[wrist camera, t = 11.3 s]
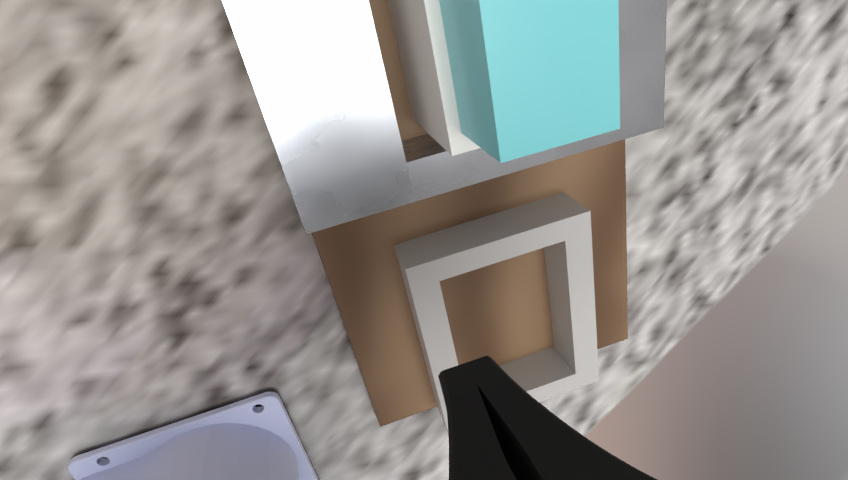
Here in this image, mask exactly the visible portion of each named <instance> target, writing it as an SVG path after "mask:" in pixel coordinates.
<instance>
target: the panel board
mask: <svg viewBox="0 0 848 480" xmlns="http://www.w3.org/2000/svg"><path fill="white" fill-rule="evenodd" d="M369 4H370V9H371V13H372V17H373V21H374V26H375V30H376V34H377V39H378V43H379V47H380V51H381V56H382V60H383V64H384V69H385V73H386V77H387V81H388V86H389V90H390V94H391V99H392V103H393V107H394V111H395V116H396V120H397V124H398V129H399V133H400V137H401V141H404V140H407V139H411V138H414V137H418V136H421V135H425V134H428V133H427V132H426V131H425V130H424V129H423V128H422V127H421V126H420V125H419V124H417V123H416V122H415V121H414V120H413V117H412V112H411V108H410V103H409V98H408V94H407V89H406V84H405V79H404V75H403V70H402V65H401V61H400V56H399V51H398V46H397V42H396V37H395V32H394V28H393V23H392V18H391V14H390V9H389V4H388V0H369ZM563 192H564V193H566V194H567V195H568V196H570V197H571V198H573V199H574V200H576V201H577V202H578V203H580V204H581V205H583V206H584V207H586V208H587V209H589V210H590V211H591V231H592V251H593V271H594V291H595V310H596V330H597V349H599V348H602V347H605V346H608V345H611V344H614V343H616V342H619V341H622V340H625V339H628V328H627V251H626V174H625V139H623V140H620V141H617V142H613V143H610V144H607V145H603V146H600V147H597V148H593V149H590V150H587V151H583V152H580V153H577V154H573V155H570V156H567V157H563V158H560V159H557V160H553V161H550V162H546V163H543V164H540V165H536V166H533V167H530V168H526V169H523V170H520V171H516V172H513V173H510V174H506V175H503V176H500V177H496V178H493V179H490V180H486V181H483V182H480V183H476V184H473V185H470V186H466V187H463V188H460V189H456V190H453V191H449V192H446V193H443V194H439V195H436V196H433V197H429V198H426V199H423V200H419V201H416V202H413V203H409V204H406V205H403V206H399V207H396V208H393V209H389V210H386V211H383V212H379V213H376V214H373V215H369V216H366V217H363V218H359V219H356V220H352V221H349V222H346V223H342V224H339V225H336V226H332V227H329V228H326V229H322V230H319V231H316V232H312V235H313V238H314V240H315V243H316V246H317V249H318V252H319V255H320V257H321V260H322V263H323V266H324V269H325V271H326V274H327V277H328V280H329V283H330V286H331V288H332V291H333V294H334V297H335V300H336V303H337V305H338V308H339V311H340V314H341V317H342V320H343V322H344V325H345V328H346V331H347V334H348V337H349V339H350V342H351V345H352V348H353V351H354V354H355V356H356V359H357V362H358V365H359V368H360V370H361V373H362V376H363V379H364V382H365V385H366V387H367V390H368V393H369V396H370V399H371V402H372V404H373V407H374V410H375V413H376V416H377V419H378V421H379V424H380V426H383V425H386V424H389V423H392V422H394V421H397V420H400V419H403V418H406V417H409V416H411V415H414V414H417V413H420V412H423V411H425V410H428V409H431V408H434V407H437V404H436V400H435V397H434V393H433V389H432V385H431V382H430V378H429V374H428V370H427V367H426V363H425V359H424V356H423V352H422V348H421V344H420V341H419V337H418V333H417V329H416V326H415V322H414V318H413V315H412V311H411V307H410V303H409V300H408V296H407V292H406V288H405V285H404V281H403V277H402V273H401V270H400V266H399V262H398V259H397V255H396V251H395V247H394V245H395V244H398V243H401V242H405V241H408V240H411V239H414V238H418V237H421V236H424V235H427V234H430V233H434V232H437V231H440V230H443V229H447V228H450V227H453V226H456V225H460V224H463V223H466V222H469V221H473V220H476V219H479V218H482V217H486V216H489V215H492V214H495V213H498V212H502V211H505V210H508V209H511V208H515V207H518V206H521V205H524V204H528V203H531V202H534V201H537V200H541V199H544V198H547V197H550V196H554V195H557V194H560V193H563ZM439 282H440V286H441V291H442V295H443V300H444V304H445V308H446V313H447V317H448V322H449V326H450V330H451V335H452V339H453V344H454V348H455V352H456V357H457V361H458V365H461V364H463V363H466V362H469V361H472V360H475V359H478V358H481V357H484V356H489V357H491V358H492V359H493V360H494V361H495V362H496V363H497V364H498V365H502V364H505V363H508V362H510V361H513V360H516V359H519V358H522V357H525V356H528V355H530V354H533V353H536V352H539V351H542V350H545V349H548V348H550V347H553V346H554V339H553V329H552V320H551V310H550V301H549V291H548V281H547V272H546V262H545V252H544V248H541V249H538V250H535V251H532V252H528V253H525V254H522V255H519V256H516V257H513V258H510V259H507V260H504V261H501V262H497V263H494V264H491V265H488V266H485V267H482V268H479V269H476V270H473V271H470V272H466V273H463V274H460V275H457V276H454V277H451V278H448V279H445V280H442V281H439Z"/></svg>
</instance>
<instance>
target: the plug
mask: <svg viewBox="0 0 848 480" xmlns="http://www.w3.org/2000/svg"><path fill="white" fill-rule="evenodd" d="M388 4H389V9H390V14H391V18H392V23H393V28H394V32H395V37H396V42H397V46H398V51H399V56H400V61H401V65H402V70H403V75H404V79H405V84H406V89H407V94H408V98H409V103H410V108H411V112H412V117H413V120H414V121H415V122H416V123H417V124H419V125H420V126H421V127H422V128H423V129H424V130H425V131H426V132H427V133H428V134H429V135H430V136H431V137H432V138H433V139H435V140H436V141H437V142H438V143H439V144H440V145H441V146H442V147H443V148H444V149H445V150H446V151H447V152H448V153H449V154H450V155H452V156H454V155H457V154H461V153H465V152H468V151H472V150H475V149H479V148H482V149H483V150H484V151H486V152H487V153H488V154H489V155H491V156H492V157H493V158H495V159H496V160H497V161H499V162H500V163H503V162H507V161H510V160H514V159H517V158H520V157H524V156H527V155H531V154H534V153H538V152H541V151H545V150H548V149H551V148H555V147H558V146H562V145H565V144H569V143H572V142H576V141H579V140H582V139H586V138H589V137H593V136H596V135H600V134H603V133H606V132H610V131H613V130H617V129H620V80H619V5H618V0H388Z"/></svg>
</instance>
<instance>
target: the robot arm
mask: <svg viewBox="0 0 848 480" xmlns="http://www.w3.org/2000/svg"><path fill="white" fill-rule="evenodd" d="M438 377H439V381H440V385H441V389H442V393H443V397H444V401H445V405H446V410H447V418H448V433H449V480H657V479H655V478H653V477H651V476H649V475H647V474H645V473H643V472H641V471H639V470H637V469H636V468H634V467H632V466H631V465H629V464H627V463H625V462H624V461H622V460H620V459H619V458H617V457H615V456H613V455H611V454H610V453H608V452H607V451H605V450H604V449H602V448H601V447H599V446H598V445H596V444H594V443H593V442H591V441H590V440H588V439H587V438H585V437H584V436H583V435H581V434H580V433H578V432H577V431H575V430H574V429H573V428H571V427H570V426H569V425H567V424H566V423H565V422H563V421H562V420H560V419H559V418H558V417H557V416H555V415H554V414H553V413H551V412H550V411H549V410H548V409H546V408H545V407H544V406H543V405H542V404H540V403H539V402H538V401H537V400H536V399H534V398H533V397H532V396H531V395H530V394H528V393H527V392H526V391H525V390H524V389H523V388H522V387H520V386H519V385H518V384H517V383H516V382H515V381H514V380H513V379H512V378H511V377H510V376H509V375H508V374H507V373H506V372H505V371H504V370H503V369H502V368H501V367H500V366H499V365H498V364H497V363H496V362H495V361H494V360H493V359H492V358H491V357H489V356H484V357H481V358H478V359H475V360H472V361H469V362H466V363H463V364H461V365H458V366H455V367H452V368H449V369H446V370H443V371H441V372H440V374H439V375H438ZM257 404H261V405H263V406H261V407H255V405H257ZM101 457H106V458H107V459H104V458H101ZM67 470H68V472H69V473H70V474H71V476H72V477H73V478H74V479H75V480H319V479H318V477H317V475H316V473H315V471H314V468H313V466H312V464H311V462H310V460H309V458H308V456H307V454H306V452H305V449H304V447H303V445H302V443H301V441H300V439H299V437H298V435H297V432H296V430H295V428H294V426H293V424H292V422H291V420H290V418H289V416H288V413H287V411H286V409H285V407H284V405H283V403H282V401H281V399H280V396H279V395H278V394H277V393H275V392H270V391H269V392H265V393H262V394H259V395H256V396H253V397H250V398H247V399H244V400H241V401H238V402H235V403H232V404H229V405H226V406H223V407H220V408H217V409H214V410H211V411H208V412H205V413H202V414H199V415H196V416H193V417H190V418H187V419H184V420H181V421H178V422H175V423H172V424H170V425H167V426H164V427H161V428H158V429H155V430H152V431H149V432H146V433H143V434H140V435H137V436H134V437H131V438H128V439H125V440H122V441H119V442H116V443H113V444H110V445H107V446H104V447H101V448H98V449H95V450H92V451H89V452H86V453H83V454H80V455H77V456H75V457H73V458H72V459H71V460H70V463H69V465H68V468H67Z"/></svg>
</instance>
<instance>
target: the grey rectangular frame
mask: <svg viewBox="0 0 848 480" xmlns="http://www.w3.org/2000/svg"><path fill="white" fill-rule="evenodd" d="M394 247H395V251H396V255H397V259H398V262H399V266H400V270H401V273H402V277H403V281H404V285H405V288H406V292H407V296H408V300H409V303H410V307H411V311H412V315H413V318H414V322H415V326H416V329H417V333H418V337H419V341H420V344H421V348H422V352H423V356H424V359H425V363H426V367H427V370H428V374H429V378H430V382H431V385H432V389H433V393H434V397H435V400H436V404H437V406H438V409H439V411H440V414H441V417H442V419H443V422H444V424H445V427H446V430H447V432H448V418H447V410H446V405H445V401H444V397H443V393H442V389H441V385H440V381H439V377H438V375H439V374H440V372H441V371H443V370H446V369H449V368H452V367H455V366H458V361H457V357H456V352H455V348H454V344H453V339H452V335H451V330H450V326H449V322H448V317H447V313H446V308H445V304H444V300H443V295H442V291H441V286H440V282H439V281H442V280H445V279H448V278H451V277H454V276H457V275H460V274H463V273H466V272H470V271H473V270H476V269H479V268H482V267H485V266H488V265H491V264H494V263H497V262H501V261H504V260H507V259H510V258H513V257H516V256H519V255H522V254H525V253H528V252H532V251H535V250H538V249H541V248H544V252H545V262H546V272H547V281H548V291H549V301H550V310H551V320H552V329H553V339H554V346H553V347H550V348H548V349H545V350H542V351H539V352H536V353H533V354H530V355H528V356H525V357H522V358H519V359H516V360H513V361H510V362H508V363H505V364H502V365H499V366H500V367H501V368H502V369H503V370H504V371H505V372H506V373H507V374H508V375H509V376H510V377H511V378H512V379H513V380H514V381H515V382H516V383H517V384H518V385H519V386H520V387H522V388H523V389H524V390H525V391H526V392H527V393H528V394H530V395H531V396H532V397H533V398H534V399H536V400H537V401H538V402H542V401H545V400H547V399H550V398H553V397H556V396H558V395H561V394H564V393H567V392H569V391H572V390H575V389H577V388H580V387H583V386H586V385H588V384H591V383H594V382H597V381H599V370H598V350H597V330H596V310H595V291H594V271H593V251H592V231H591V211H590V210H589V209H587V208H586V207H584V206H583V205H581V204H580V203H578V202H577V201H576V200H574V199H573V198H571V197H570V196H568V195H567V194H566V193H564V192H563V193H560V194H557V195H554V196H550V197H547V198H544V199H541V200H537V201H534V202H531V203H528V204H524V205H521V206H518V207H515V208H511V209H508V210H505V211H502V212H498V213H495V214H492V215H489V216H486V217H482V218H479V219H476V220H473V221H469V222H466V223H463V224H460V225H456V226H453V227H450V228H447V229H443V230H440V231H437V232H434V233H430V234H427V235H424V236H421V237H418V238H414V239H411V240H408V241H405V242H401V243H398V244H395V245H394ZM448 435H449V433H448Z"/></svg>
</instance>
